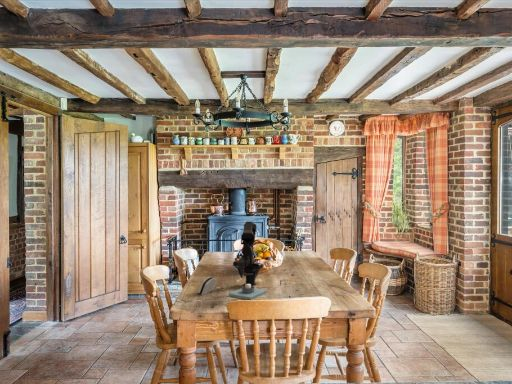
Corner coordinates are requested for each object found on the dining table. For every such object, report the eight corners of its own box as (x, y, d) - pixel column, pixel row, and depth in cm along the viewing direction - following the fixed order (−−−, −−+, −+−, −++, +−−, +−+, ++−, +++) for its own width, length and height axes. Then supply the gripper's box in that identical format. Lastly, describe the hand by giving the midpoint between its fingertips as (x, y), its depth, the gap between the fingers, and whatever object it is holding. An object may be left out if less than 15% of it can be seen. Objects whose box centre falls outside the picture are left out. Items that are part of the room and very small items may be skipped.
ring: (246, 289, 253) (246, 285, 252) (256, 291, 249) (256, 286, 249) (239, 292, 247) (239, 287, 246) (249, 294, 243) (249, 289, 243)
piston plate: (245, 289, 260) (245, 279, 259) (266, 292, 251) (266, 283, 251) (228, 295, 244) (228, 286, 244) (250, 300, 236) (250, 289, 236)
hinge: (207, 287, 264) (212, 273, 263) (213, 290, 263) (218, 276, 262) (195, 294, 249) (200, 279, 247) (202, 297, 247) (207, 282, 246)
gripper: (227, 253, 245) (227, 279, 246) (253, 256, 235) (253, 283, 236) (238, 251, 255) (238, 275, 255) (263, 253, 245) (263, 279, 245)
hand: (247, 278), depth 247 cm, fingers open, 9 cm apart
